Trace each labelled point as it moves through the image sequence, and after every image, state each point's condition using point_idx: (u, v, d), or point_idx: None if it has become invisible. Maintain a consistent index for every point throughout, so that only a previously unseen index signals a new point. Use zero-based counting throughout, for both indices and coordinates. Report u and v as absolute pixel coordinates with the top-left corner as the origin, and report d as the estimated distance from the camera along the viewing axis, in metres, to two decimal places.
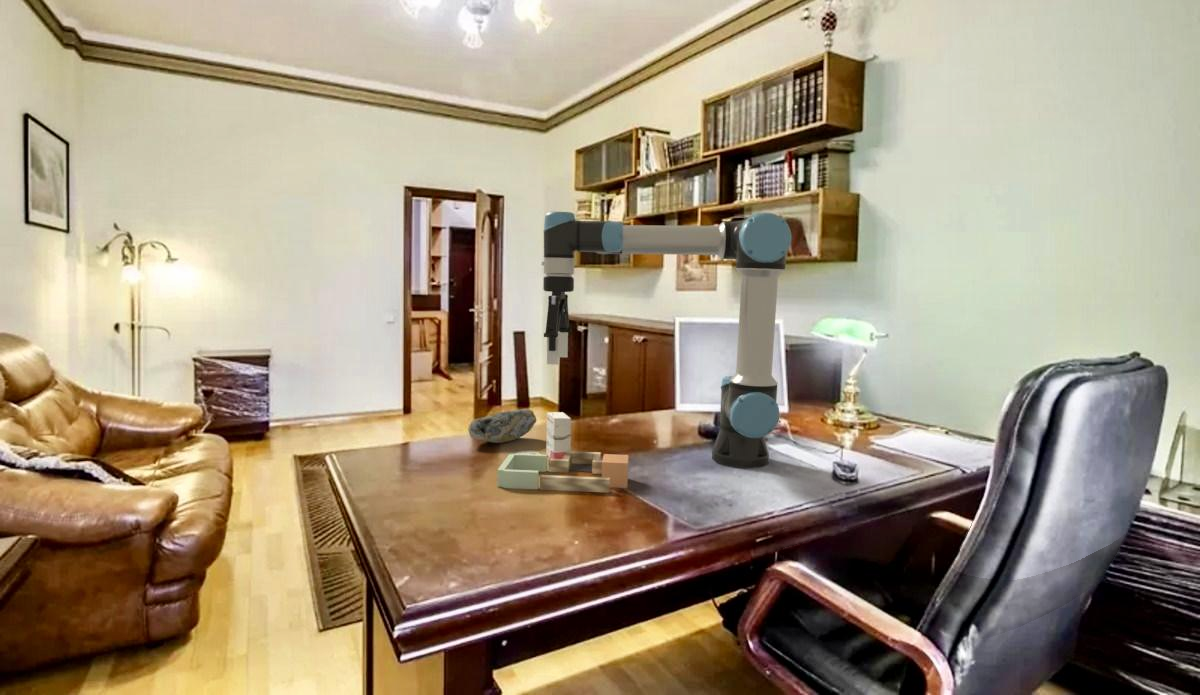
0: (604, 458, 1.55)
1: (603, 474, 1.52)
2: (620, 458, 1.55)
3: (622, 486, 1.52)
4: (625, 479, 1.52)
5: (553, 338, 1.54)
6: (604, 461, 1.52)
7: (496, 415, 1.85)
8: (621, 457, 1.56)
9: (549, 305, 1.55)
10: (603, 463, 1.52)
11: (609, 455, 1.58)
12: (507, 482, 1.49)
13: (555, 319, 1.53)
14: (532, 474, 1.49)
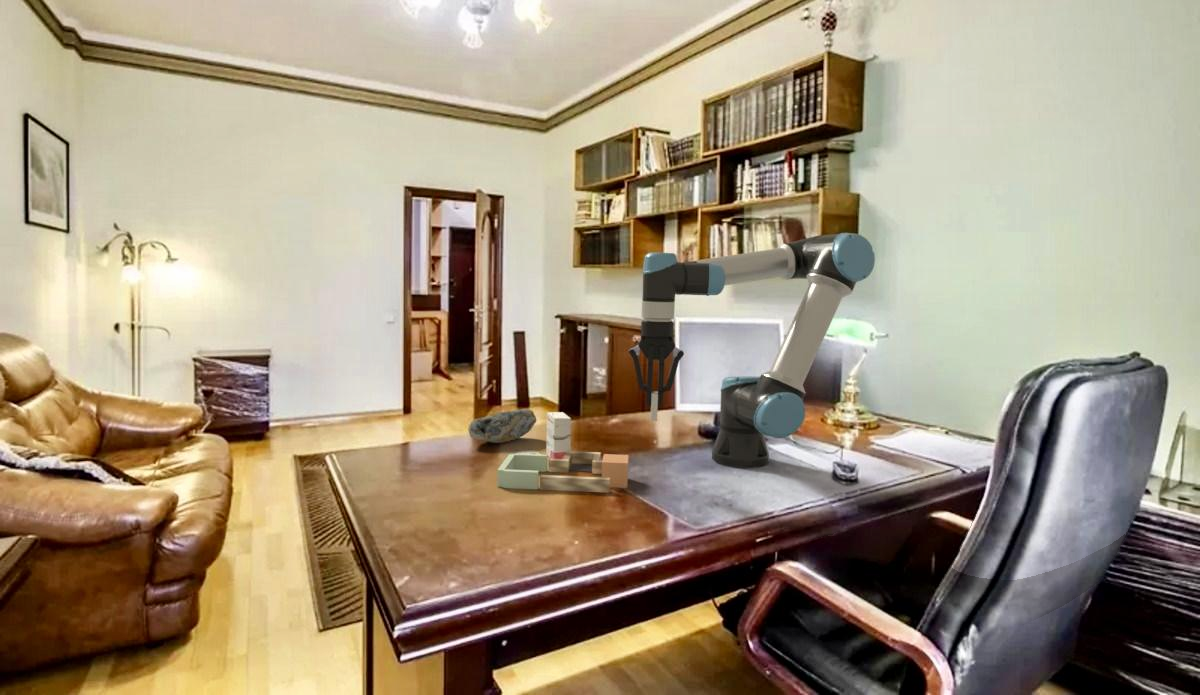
0: (604, 458, 1.55)
1: (603, 474, 1.52)
2: (619, 458, 1.55)
3: (622, 486, 1.52)
4: (625, 479, 1.52)
5: None
6: (604, 461, 1.52)
7: (496, 415, 1.85)
8: (621, 457, 1.56)
9: None
10: (603, 463, 1.52)
11: (609, 455, 1.58)
12: (507, 482, 1.49)
13: None
14: (532, 474, 1.49)
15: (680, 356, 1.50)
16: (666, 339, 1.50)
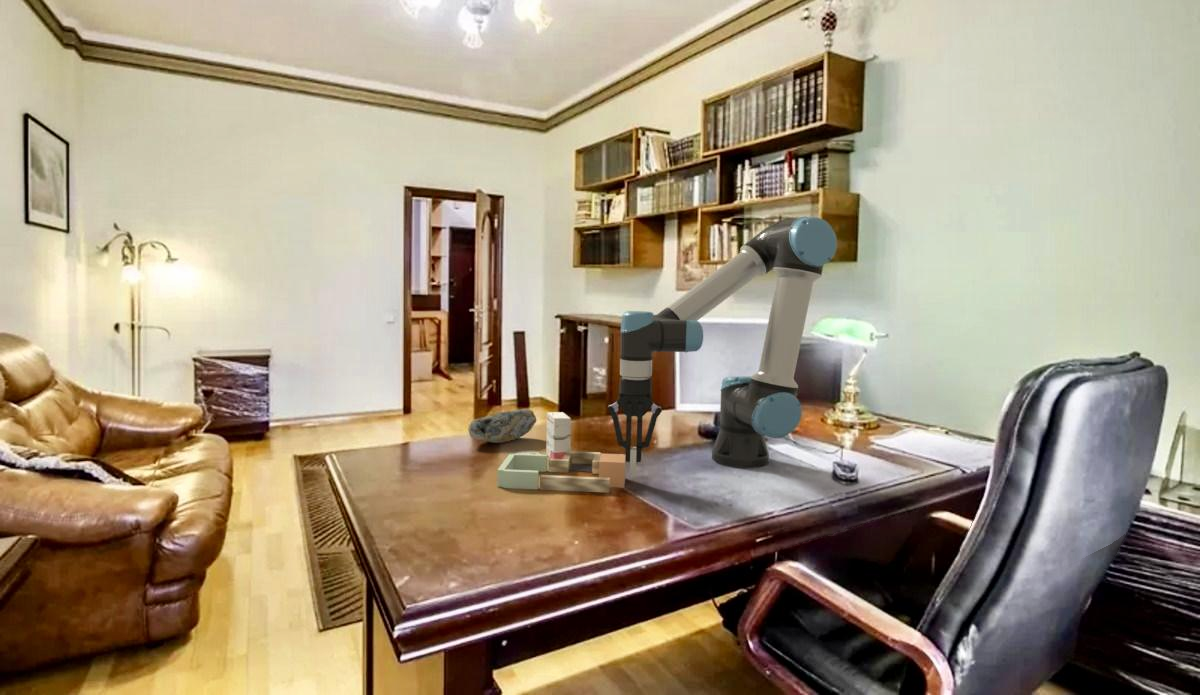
0: (601, 457, 1.55)
1: (600, 473, 1.52)
2: (617, 458, 1.55)
3: (619, 485, 1.52)
4: (622, 478, 1.52)
5: (625, 448, 1.54)
6: (601, 460, 1.52)
7: (496, 415, 1.85)
8: (618, 456, 1.56)
9: None
10: (600, 462, 1.52)
11: (606, 454, 1.58)
12: (507, 482, 1.49)
13: (615, 430, 1.53)
14: (532, 474, 1.49)
15: (658, 413, 1.52)
16: (644, 396, 1.51)
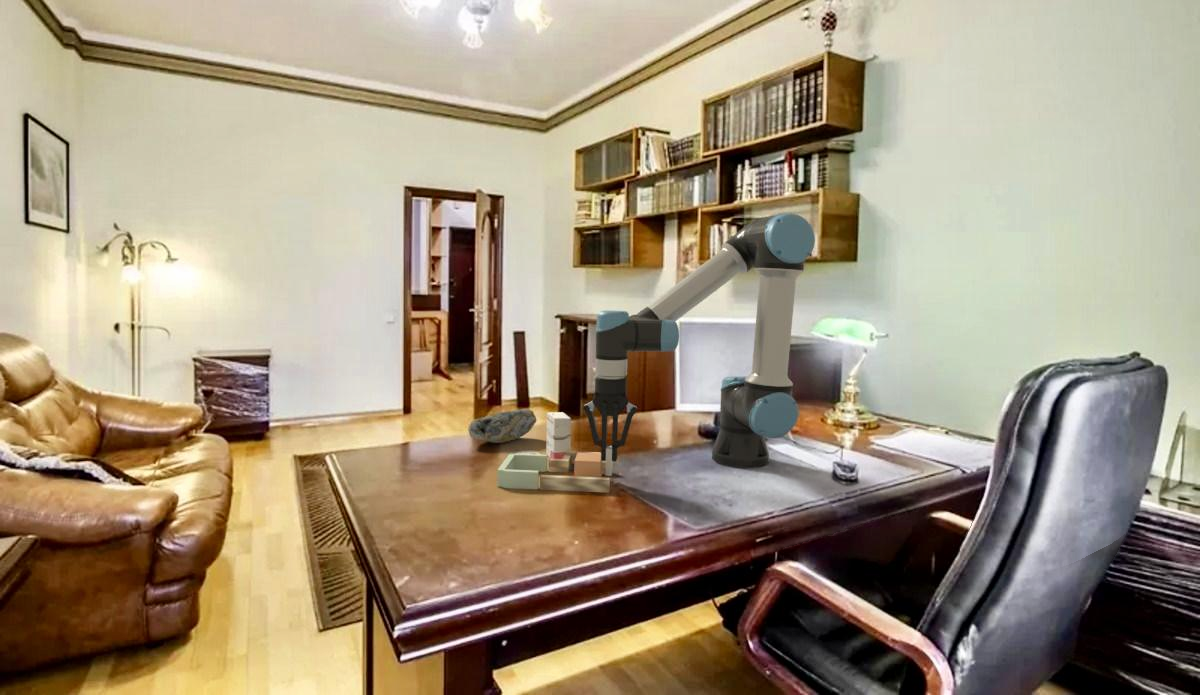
0: (577, 456, 1.55)
1: (575, 472, 1.52)
2: (592, 457, 1.55)
3: None
4: None
5: (601, 447, 1.54)
6: (577, 459, 1.53)
7: (496, 415, 1.85)
8: (594, 455, 1.56)
9: None
10: (575, 461, 1.52)
11: (582, 453, 1.58)
12: (507, 482, 1.49)
13: (591, 429, 1.53)
14: (532, 474, 1.49)
15: (633, 412, 1.52)
16: (619, 395, 1.52)
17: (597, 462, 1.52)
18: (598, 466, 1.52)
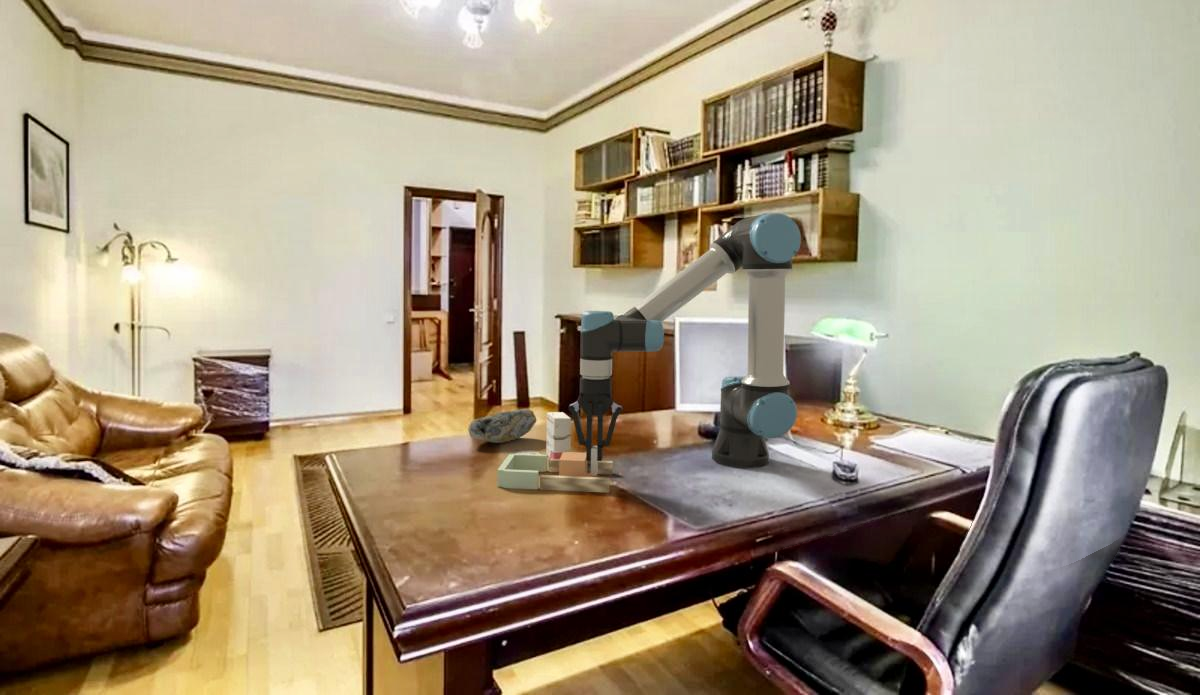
0: (562, 456, 1.55)
1: (560, 472, 1.52)
2: (578, 456, 1.55)
3: None
4: None
5: (586, 447, 1.55)
6: (562, 459, 1.53)
7: (496, 415, 1.85)
8: (580, 455, 1.56)
9: None
10: (560, 461, 1.52)
11: (568, 452, 1.58)
12: (507, 482, 1.49)
13: None
14: (532, 474, 1.49)
15: (618, 412, 1.52)
16: (604, 395, 1.52)
17: (582, 461, 1.52)
18: (583, 465, 1.52)
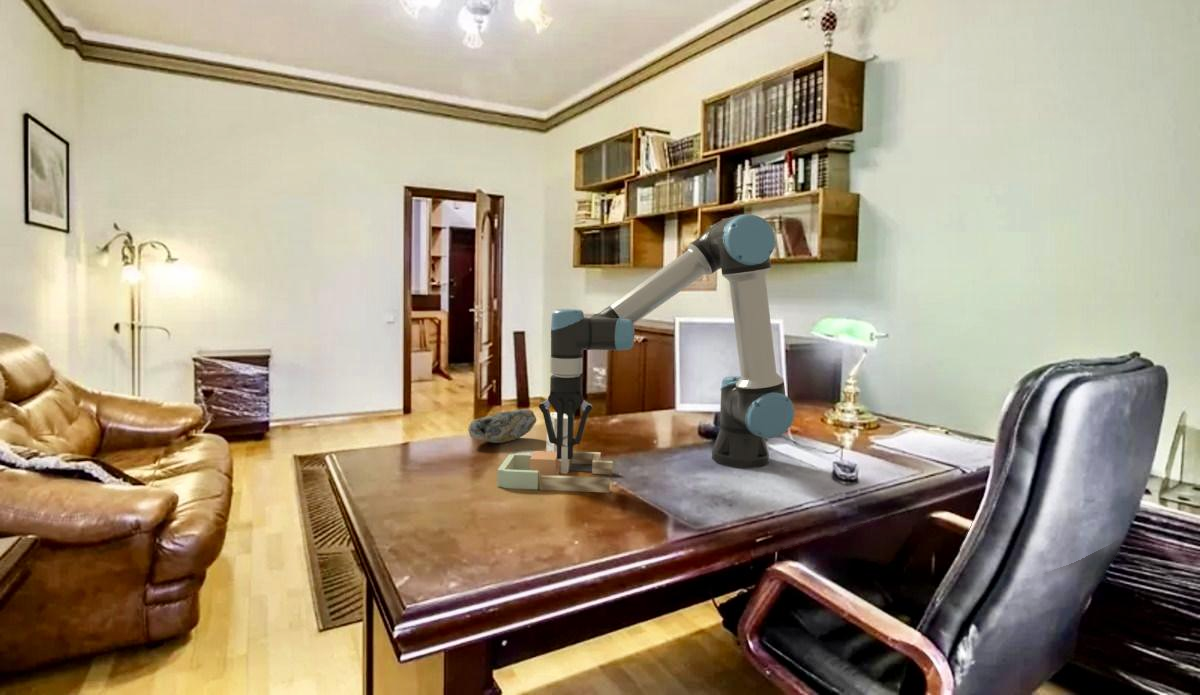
0: (533, 455, 1.56)
1: None
2: (549, 455, 1.56)
3: None
4: None
5: None
6: (533, 457, 1.53)
7: (496, 415, 1.85)
8: (551, 454, 1.57)
9: None
10: (531, 460, 1.53)
11: (539, 451, 1.59)
12: (507, 482, 1.49)
13: None
14: (532, 474, 1.49)
15: (588, 410, 1.53)
16: (574, 394, 1.53)
17: (552, 460, 1.52)
18: (553, 464, 1.52)
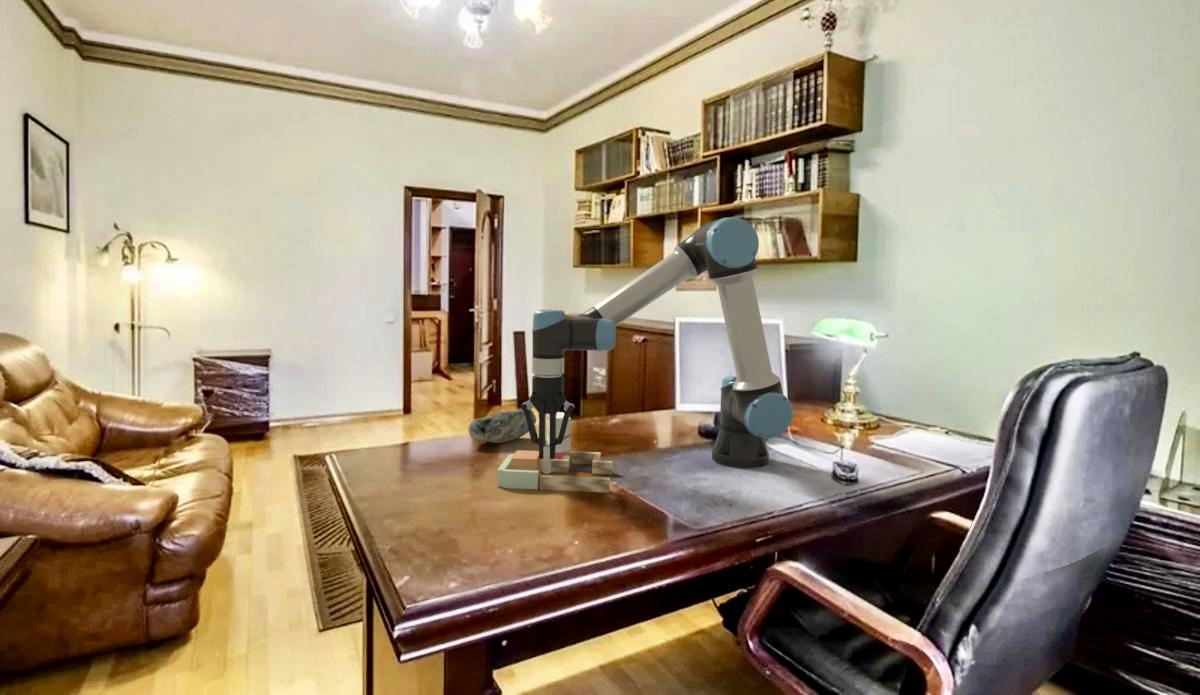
0: (515, 454, 1.56)
1: None
2: (530, 455, 1.56)
3: None
4: None
5: None
6: (514, 457, 1.54)
7: (496, 415, 1.85)
8: (533, 453, 1.57)
9: None
10: (512, 459, 1.53)
11: (522, 451, 1.59)
12: (507, 482, 1.49)
13: None
14: (532, 474, 1.49)
15: (570, 410, 1.53)
16: (556, 394, 1.53)
17: (534, 460, 1.53)
18: (535, 464, 1.53)
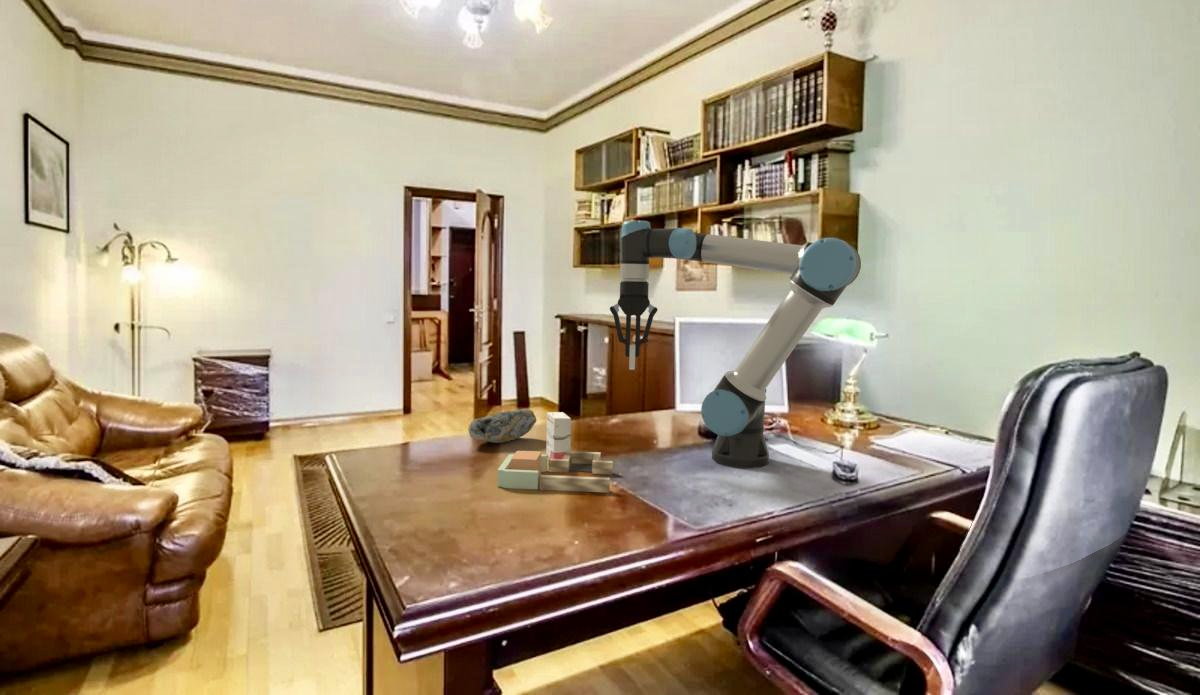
0: (515, 455, 1.56)
1: None
2: (530, 455, 1.56)
3: None
4: None
5: (625, 345, 1.73)
6: (514, 457, 1.54)
7: (496, 415, 1.85)
8: (533, 454, 1.57)
9: None
10: (512, 459, 1.53)
11: (521, 451, 1.59)
12: (507, 482, 1.49)
13: (616, 328, 1.72)
14: (532, 474, 1.49)
15: (654, 312, 1.71)
16: (642, 297, 1.70)
17: (533, 460, 1.53)
18: (534, 464, 1.53)
